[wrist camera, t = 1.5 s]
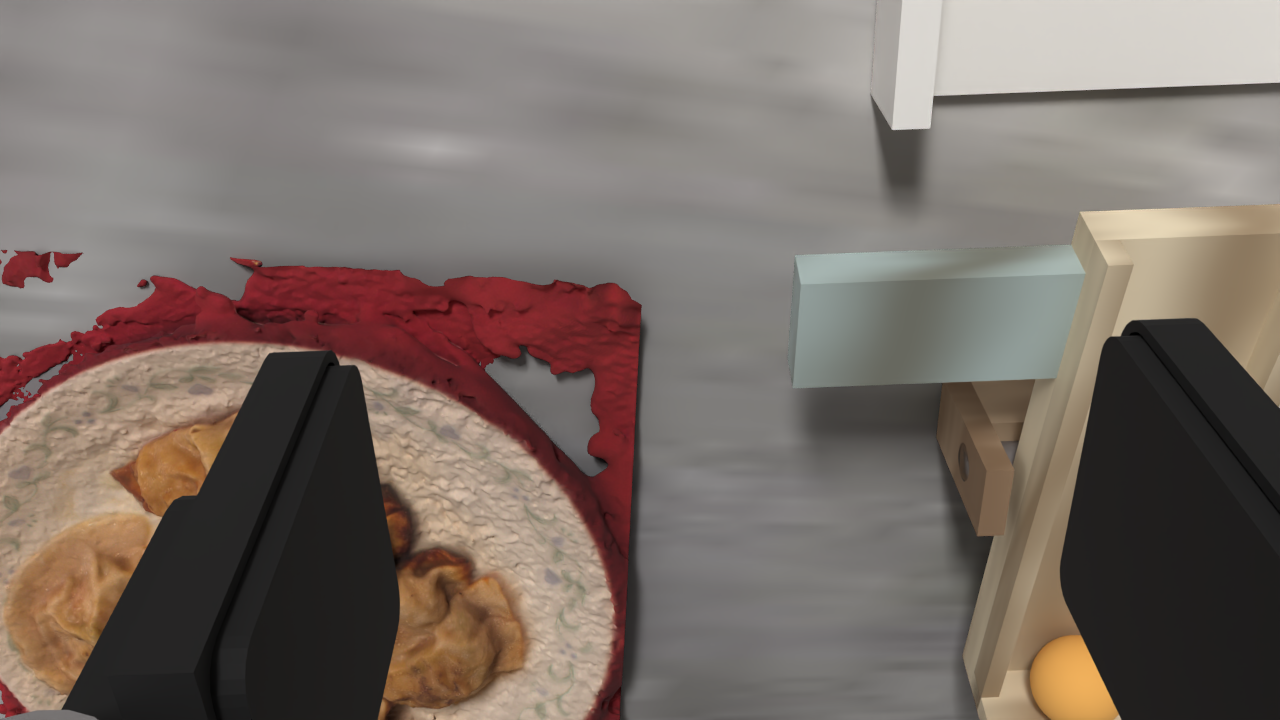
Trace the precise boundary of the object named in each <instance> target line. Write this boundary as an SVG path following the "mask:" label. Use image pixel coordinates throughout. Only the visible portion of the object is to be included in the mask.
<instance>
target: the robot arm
mask: <svg viewBox="0 0 1280 720" xmlns="http://www.w3.org/2000/svg"><path fill="white" fill-rule="evenodd" d="M1060 583H1061V589H1062V594H1063V597H1064V600H1065V603H1066V605H1067V607H1068V609H1069V611H1070V613H1071V615H1072V618H1073V620H1074V622H1075V624H1076V626H1077V628H1078V630H1079V632H1080V634H1081V636H1082V638H1083V640H1084V643H1085V645H1086V647H1087V649H1088V651H1089V653H1090V655H1091V657H1092V659H1093V661H1094V663H1095V666H1096V668H1097V670H1098V672H1099V674H1100V676H1101V678H1102V680H1103V682H1104V684H1105V686H1106V689H1107V691H1108V693H1109V695H1110V697H1111V699H1112V701H1113V703H1114V705H1115V707H1116V709H1117V712H1118V714H1119V716H1120V718H1121V720H1280V408H1279V407H1278V406H1277V405H1276V404H1275V403H1274V402H1273V401H1272V399H1271V398H1270V397H1269V396H1268V395H1267V394H1266V393H1265V392H1264V390H1263V389H1262V388H1261V387H1260V386H1259V385H1258V384H1257V383H1256V381H1255V380H1254V379H1253V378H1252V377H1251V376H1250V375H1249V374H1248V372H1247V371H1246V370H1245V369H1244V368H1243V367H1242V366H1241V365H1240V363H1239V362H1238V361H1237V360H1236V359H1235V358H1234V357H1233V356H1232V354H1231V353H1230V352H1229V351H1228V350H1227V349H1226V348H1225V347H1224V345H1223V344H1222V343H1221V342H1220V341H1219V340H1218V339H1217V338H1216V336H1215V335H1214V334H1213V333H1212V332H1211V331H1210V330H1209V329H1208V327H1207V326H1206V325H1205V324H1204V323H1203V322H1201V321H1200V320H1199V319H1197V318H1177V319H1150V320H1132V321H1130V322H1129V323H1128V324H1126V326H1125V328H1124V330H1123V331H1122V334H1121V336H1111V337H1109V338H1108V339H1106V341H1105V343H1104V345H1103V347H1102V351H1101V355H1100V360H1099V365H1098V370H1097V375H1096V381H1095V386H1094V391H1093V396H1092V401H1091V406H1090V411H1089V417H1088V422H1087V427H1086V432H1085V437H1084V442H1083V447H1082V453H1081V458H1080V463H1079V468H1078V473H1077V478H1076V484H1075V489H1074V494H1073V499H1072V504H1071V509H1070V514H1069V520H1068V525H1067V530H1066V535H1065V540H1064V545H1063V550H1062V556H1061V561H1060ZM399 618H400V592H399V585H398V579H397V574H396V568H395V562H394V557H393V551H392V546H391V540H390V535H389V529H388V523H387V518H386V512H385V507H384V501H383V496H382V490H381V485H380V479H379V473H378V468H377V462H376V457H375V451H374V446H373V440H372V434H371V429H370V423H369V418H368V412H367V407H366V401H365V395H364V390H363V384H362V379H361V375H360V372H359V370H358V367H357V366H356V365H340V364H339V361H338V358H337V356H336V354H335V353H334V352H333V351H332V350H324V351H298V352H273V353H269V354H268V355H267V357H266V358H265V360H264V362H263V364H262V366H261V368H260V370H259V372H258V374H257V376H256V378H255V380H254V382H253V384H252V386H251V388H250V390H249V392H248V394H247V396H246V398H245V400H244V402H243V404H242V406H241V408H240V410H239V412H238V414H237V416H236V418H235V420H234V422H233V424H232V426H231V428H230V430H229V432H228V434H227V436H226V438H225V440H224V442H223V444H222V446H221V448H220V450H219V452H218V454H217V456H216V458H215V460H214V462H213V464H212V466H211V468H210V470H209V472H208V474H207V476H206V478H205V480H204V482H203V484H202V486H201V488H200V490H199V492H198V494H197V495H190V496H181V497H179V498H177V499H175V500H173V502H172V503H171V505H170V506H169V507H168V509H167V510H166V511H165V513H164V515H163V517H162V519H161V521H160V523H159V525H158V527H157V529H156V530H155V532H154V534H153V536H152V538H151V540H150V542H149V544H148V546H147V548H146V549H145V551H144V553H143V555H142V557H141V559H140V561H139V563H138V565H137V567H136V568H135V570H134V572H133V574H132V576H131V578H130V580H129V582H128V584H127V586H126V588H125V589H124V591H123V593H122V595H121V597H120V599H119V601H118V603H117V605H116V607H115V608H114V610H113V612H112V614H111V616H110V618H109V620H108V622H107V624H106V626H105V627H104V629H103V631H102V633H101V635H100V637H99V639H98V641H97V643H96V645H95V647H94V648H93V650H92V652H91V654H90V656H89V658H88V660H87V662H86V664H85V666H84V667H83V669H82V671H81V673H80V675H79V677H78V679H77V681H76V683H75V685H74V686H73V688H72V690H71V692H70V694H69V696H68V698H67V700H66V702H65V704H64V705H63V707H62V709H61V710H36V711H32V712H28V713H23V714H19V715H15V716H10V717H6V718H2V719H0V720H378V716H379V712H380V707H381V703H382V698H383V694H384V689H385V685H386V680H387V676H388V672H389V667H390V663H391V658H392V654H393V649H394V645H395V640H396V636H397V631H398V626H399Z"/></svg>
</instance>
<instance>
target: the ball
mask: <svg viewBox="0 0 1280 720" xmlns="http://www.w3.org/2000/svg"><path fill="white" fill-rule="evenodd" d="M1030 686H1031V691H1032V694H1033V697H1034V699H1035V701H1036V703H1037V704H1038V706H1039V708H1040V709H1041V710H1042V711H1043V713H1044V714H1045V715H1046V716H1047V717H1048V718H1050V719H1051V720H1114V719H1115V718H1116V717H1117V716H1118V715H1119V714H1118V712H1117V709H1116V707H1115V705H1114V703H1113V701H1112V699H1111V697H1110V695H1109V693H1108V691H1107V689H1106V686H1105V684H1104V682H1103V680H1102V678H1101V676H1100V674H1099V672H1098V670H1097V668H1096V666H1095V663H1094V661H1093V659H1092V657H1091V655H1090V653H1089V651H1088V649H1087V647H1086V645H1085V643H1084V640H1083V638H1082V636H1081V635H1068V636H1063V637H1059V638H1057V639H1054V640H1052V641H1050V642H1049V643H1047V644H1046V645H1045V646H1044V647H1043V648H1042V649H1041V650H1040V651H1039V652H1038V654H1037V655H1036V657H1035V659H1034V661H1033V663H1032V667H1031V671H1030Z"/></svg>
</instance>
